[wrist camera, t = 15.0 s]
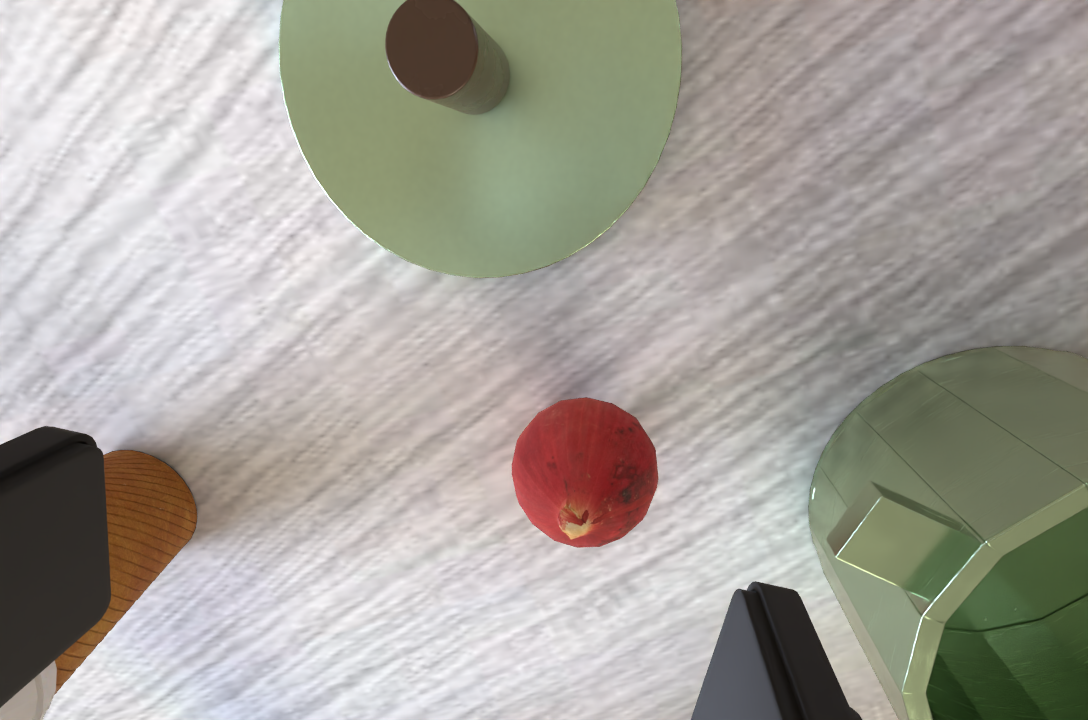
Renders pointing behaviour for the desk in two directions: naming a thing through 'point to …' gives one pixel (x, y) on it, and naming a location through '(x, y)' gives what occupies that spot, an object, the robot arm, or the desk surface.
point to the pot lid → (481, 120)
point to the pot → (965, 534)
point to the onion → (584, 472)
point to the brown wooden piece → (121, 559)
